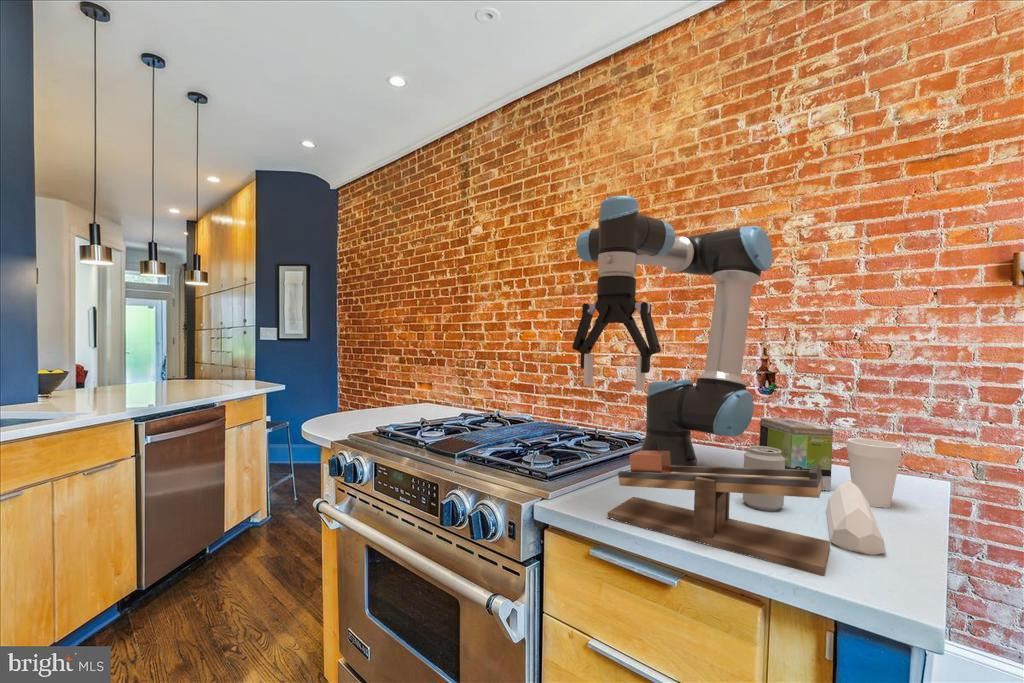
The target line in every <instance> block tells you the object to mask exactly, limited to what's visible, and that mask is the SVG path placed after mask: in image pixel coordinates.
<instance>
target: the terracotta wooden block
mask: <svg viewBox="0 0 1024 683" xmlns="http://www.w3.org/2000/svg"><path fill="white" fill-rule="evenodd" d="M640 450H641V449H640ZM640 450H638V451H635V452H632V453H630V454H629V464H630V471H631V472H654V473H672V468H671V459H670V451H640Z"/></svg>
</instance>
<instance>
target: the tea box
mask: <svg viewBox="0 0 1024 683" xmlns="http://www.w3.org/2000/svg"><path fill="white" fill-rule="evenodd" d="M833 431H834V430H833V428H832V427H828V426H823V425H820V424H816V423H812V422H809V421H803V420H800V419H797V418H796V419H795V418H780V417H779V418H775V417H774V418H773V417H761V418H760V423H759V446H765V447H772V448H776V449H779V450H781V451H782V452H781V455H782V456H783V457H784V458H785V469H796V470H810V469H811V467H812V465H820V470H821V473H822V481H823V488H822V490H823V491H824V490H825V492H830V491H831V487H832V468H833V466H832V465H833V462H832V461H833V440H834V437H833V435H834V434H833V433H834V432H833ZM823 491H822V492H823Z"/></svg>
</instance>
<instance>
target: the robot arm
mask: <svg viewBox="0 0 1024 683" xmlns="http://www.w3.org/2000/svg"><path fill="white" fill-rule="evenodd" d="M599 206H600V208H599V217H598V220H597V221H598V227H596V228H590V229H588V230H584V231H582V232H580V233H579V235H578V236H577V239H576V242H575V244H576V245H575V247H576V248H575V249H576V253H577V256H578V257H579V259H580V260H582V261H583V262H585V263H591V262H592V263H597V274H598V275H599V277H598V278H597V280H596V282H597V284H596V295H597V298H596V302H595V303H586V302H585V303H583V304H582V306H581V308H582V309H581V310H582V312H581V313H582V314H581V317H580V320H579V324H578V327H577V330H576V334H575V337H574V340H573V342H572V346H571V347H572V348H571V349H573V350H575V351H578V353H580V365H579V366H580V369H581V370H583V384H582V386H583V387H584V386H585V387H590V386H593V385H594V359H595V358H594V356H595V355H594V353H592V349H593V347H594V346H595V345H596V343H597V341H598V340H599V338H600V336H601V334H602V333H603V331H604V329H605V328H606V327H607V326H608V325H609V324H623V326H624V327H625V328H626V329H627V332H628V333H629V335H630V337H631V339H632V341H633V343H634V345H635V347H636V348H637V350H638V352H639V355H636V360H635V362H636V363H635V364H636V366H635V391H645V388H646V387H645V386H646V385H645V383H646V374H649V373H650V369H651V357H652V356H653V355H655V354H659V353H660V352H661V351H662V349H661V346H660V342H659V339H658V335H657V333H656V332H657V331H656V329H655V325H654V322H653V317H652V304H651V303H650V302H646V301H643V302H637V301H636V296H637V295H636V293H637V292H636V291H637V290H636V289H637V278H635V277H634V276H635V275H636V274H637V265H643V266H653V267H663V268H667V270H668V271H670V272H674V273H675V272H676V273H682V274H690V275H697V276H711V279H712V280H713V281H714V282H715V284H716V285H715V286H716V287H715V292H714V300H713V301H714V302H713V307H712V313H711V322H710V328H709V336H708V337H709V338H708V345H707V349H706V359H705V365H704V372H703V373H702V374H700V375H699V376H698V377H697V378H696V382H695V383H696V384H695V385H694V383H693V380H692V379H679V380H661V381H657V380H656V381H652V382H650V383H649V384H648V385H647V393H646V418H645V419H646V420H645V421H646V422H645V423H646V426H645V430H646V432H645V437H644V439H643V441H642V444H641V448H640V451H670V459H671V465H676V466H698V460H697V455H696V451H695V449H694V445H693V441H692V439H691V438H692V435H691V434H692V431H694V432H697V433H698V432H699V433H704V434H710V435H715V436H719V437H730V438H736V437H739V436H741V435H743V433H745V431H746V430H747V429H748V427H749V426H750V424H751V422H752V418H753V415H754V412H755V403H754V396H753V394H751V392H750V391H748V390H747V383H746V381H744V380H743V378H742V370H743V363H744V355H745V348H746V339H747V332H748V325H749V317H750V309H751V302H752V294H753V293H752V292H753V286H755V285H756V284H757V283H759V282H760V281H761V276H762V275H761V274H762V272H766V271H768V270H770V268H771V266H772V264H773V257H774V256H773V247H772V243H771V240H770V237H769V236H768V234H767V232H766V230H765V229H763V227H761V226H758V225H751V226H749V225H748V226H741V227H736V228H731V229H730V228H729V229H725V230H724V229H723V230H719V231H712V232H705V233H701V234H696V235H691V236H679V235H678V236H676V232H675V229H674V227H673V226H672V225H671V224H670V223H667V222H666V221H663V220H662V219H659V218H655V217H651V216H647V215H643V214H642V213H639V211H640V208H639V202H638V200H637V198H636V197H633V196H629V195H614V196H610V197H607V198H605V199H603V200H602V201H601V203H600V205H599ZM636 310H637V312H638V314H640V315H639V316H640V319H641V323H642V327H643V330H644V334H645V337H646V340H645V338H644V337H643V335H642V333H641V331H640V329H639V327H638V325H637V322H636V320H635V318H634V317H633V314H634V312H636ZM596 311H597V313H598V315H597V317H596V319H595V322H594V325H593V326H592V328H591V330H590V331H589V329H590V326H591V323H592V320H593V317H594V316H593V315H594V314H595V313H596ZM588 332H589V333H588ZM646 341H647V342H646Z"/></svg>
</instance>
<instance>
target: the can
mask: <svg viewBox="0 0 1024 683" xmlns="http://www.w3.org/2000/svg"><path fill="white" fill-rule="evenodd" d="M747 449H748V450H747V451H745V453H744V454H743V468H766V469H785V458H784V457H783V456H782V455H781V452H782V451H781V450H779V449H776V448H772V447H765V446H760V445H750V446H747ZM742 500H743V501H744V502H745V504H746V505H747V506H748V507H750V508H753V509H756V510H761V511H764V512H766V511H767V512H775V511H776V512H777V511H779V510H780V509H781V508H783V507H784V505H785V504H784V503H785V496H779V495H763V494H747V493H742Z"/></svg>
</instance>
